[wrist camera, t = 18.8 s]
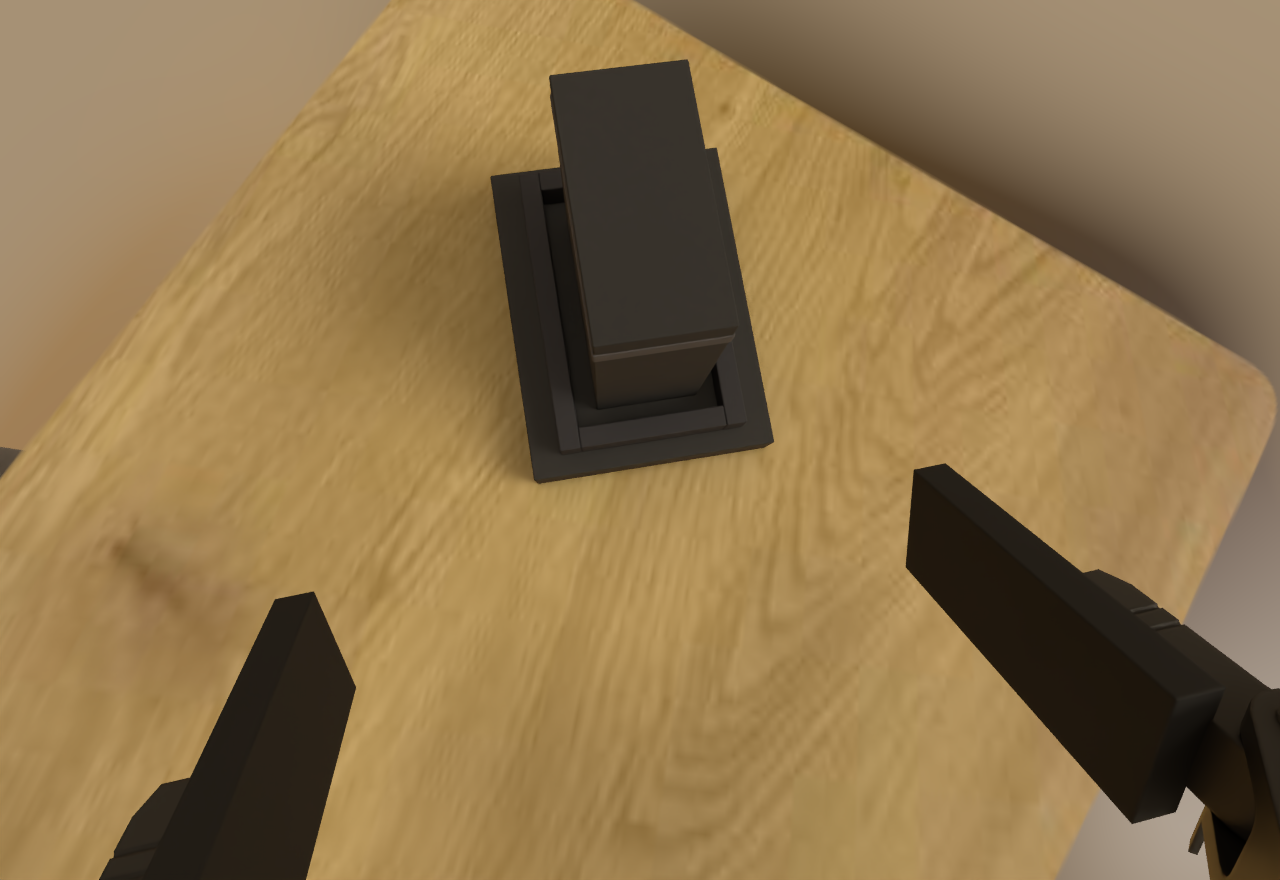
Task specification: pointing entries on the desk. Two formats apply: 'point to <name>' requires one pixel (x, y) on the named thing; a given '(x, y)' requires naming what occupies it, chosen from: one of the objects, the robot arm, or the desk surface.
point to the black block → (642, 231)
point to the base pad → (559, 363)
